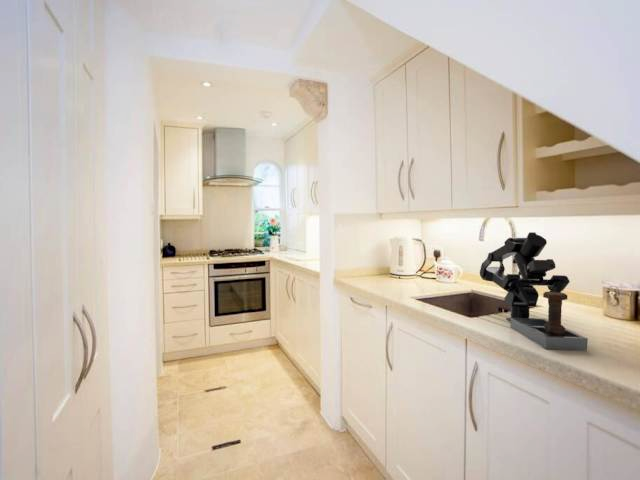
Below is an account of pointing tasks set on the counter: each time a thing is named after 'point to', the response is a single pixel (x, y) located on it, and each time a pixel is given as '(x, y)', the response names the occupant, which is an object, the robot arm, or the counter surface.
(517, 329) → the grey divided tray
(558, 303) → the bolt
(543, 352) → the counter surface
